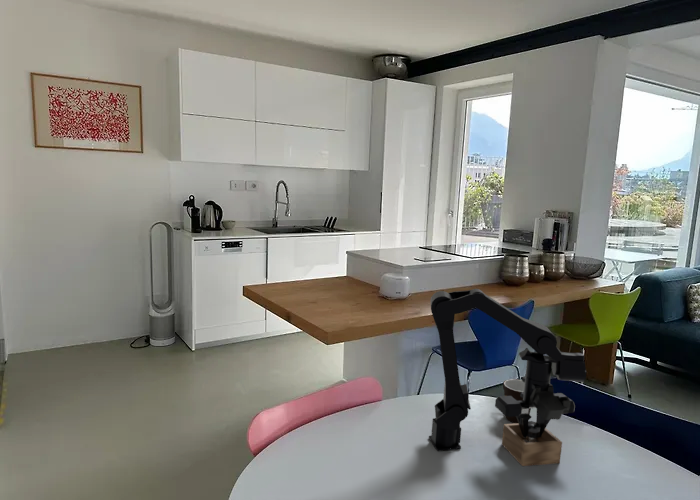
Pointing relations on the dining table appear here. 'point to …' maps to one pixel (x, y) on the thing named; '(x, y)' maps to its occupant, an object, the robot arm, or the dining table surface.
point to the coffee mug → (514, 393)
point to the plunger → (533, 432)
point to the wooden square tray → (531, 446)
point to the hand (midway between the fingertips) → (531, 436)
